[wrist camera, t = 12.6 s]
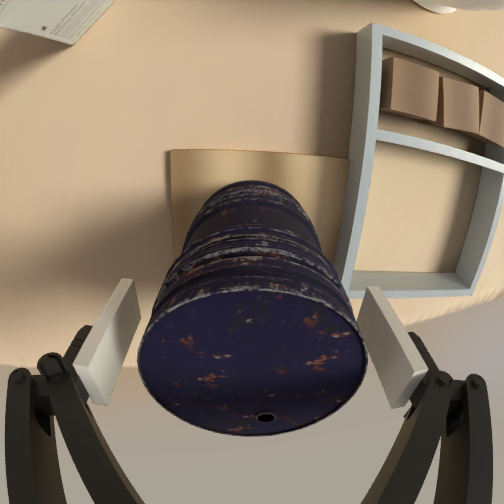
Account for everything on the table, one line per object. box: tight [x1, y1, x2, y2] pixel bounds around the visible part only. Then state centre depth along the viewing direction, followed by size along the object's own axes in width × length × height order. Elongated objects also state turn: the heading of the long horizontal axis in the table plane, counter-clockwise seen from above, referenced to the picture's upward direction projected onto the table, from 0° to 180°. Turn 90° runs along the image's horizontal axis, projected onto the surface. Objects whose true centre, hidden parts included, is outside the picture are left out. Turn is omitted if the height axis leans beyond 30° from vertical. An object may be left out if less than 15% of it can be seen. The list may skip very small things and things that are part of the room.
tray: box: [333, 22, 504, 298], centre depth 21 cm, size 16×22×3 cm
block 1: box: [379, 57, 439, 121], centre depth 18 cm, size 4×4×4 cm
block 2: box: [419, 77, 479, 134], centre depth 18 cm, size 4×4×4 cm
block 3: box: [455, 90, 504, 148], centre depth 18 cm, size 4×4×4 cm
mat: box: [170, 149, 350, 266], centre depth 25 cm, size 14×14×1 cm
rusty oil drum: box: [137, 180, 368, 437], centre depth 18 cm, size 10×10×15 cm
